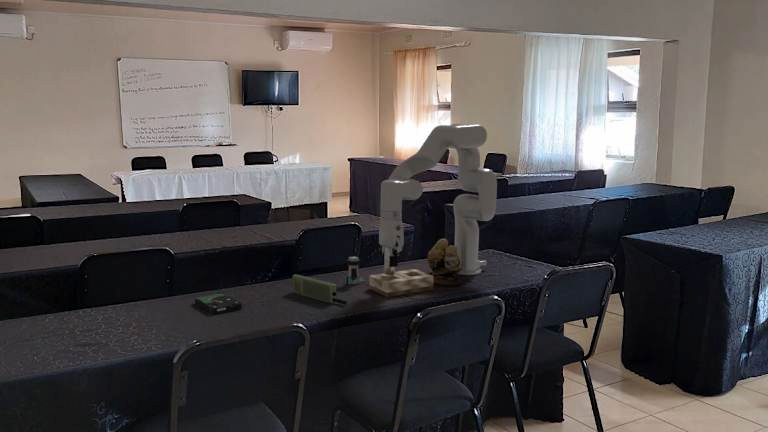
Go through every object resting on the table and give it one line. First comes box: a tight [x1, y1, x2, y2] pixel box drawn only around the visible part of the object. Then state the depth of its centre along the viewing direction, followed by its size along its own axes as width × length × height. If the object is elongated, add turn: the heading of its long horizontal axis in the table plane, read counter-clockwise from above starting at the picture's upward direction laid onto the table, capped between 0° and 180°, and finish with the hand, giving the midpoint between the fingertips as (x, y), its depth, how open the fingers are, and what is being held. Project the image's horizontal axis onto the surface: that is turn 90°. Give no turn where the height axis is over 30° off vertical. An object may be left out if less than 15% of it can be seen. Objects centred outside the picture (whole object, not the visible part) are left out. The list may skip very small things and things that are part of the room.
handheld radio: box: [292, 274, 348, 306], centre depth 229 cm, size 7×3×25 cm
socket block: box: [368, 268, 434, 298], centre depth 243 cm, size 20×12×5 cm, turn 122°
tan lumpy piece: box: [427, 238, 462, 288], centre depth 253 cm, size 18×12×17 cm, turn 37°
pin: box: [383, 245, 396, 275], centre depth 238 cm, size 4×4×10 cm
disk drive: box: [194, 292, 243, 316], centre depth 219 cm, size 10×3×15 cm
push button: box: [345, 256, 364, 286], centre depth 249 cm, size 7×5×10 cm
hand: (390, 264), depth 239 cm, fingers closed on pin, 4 cm apart
